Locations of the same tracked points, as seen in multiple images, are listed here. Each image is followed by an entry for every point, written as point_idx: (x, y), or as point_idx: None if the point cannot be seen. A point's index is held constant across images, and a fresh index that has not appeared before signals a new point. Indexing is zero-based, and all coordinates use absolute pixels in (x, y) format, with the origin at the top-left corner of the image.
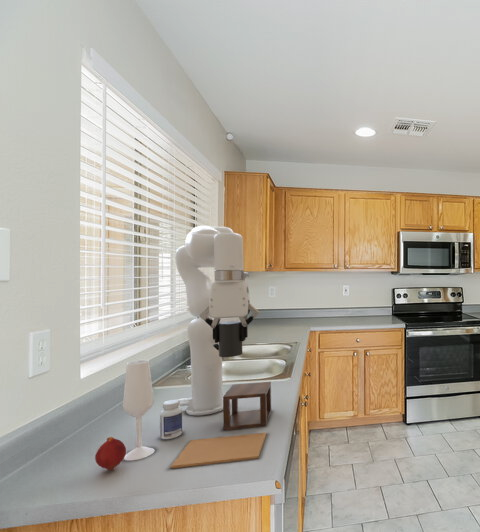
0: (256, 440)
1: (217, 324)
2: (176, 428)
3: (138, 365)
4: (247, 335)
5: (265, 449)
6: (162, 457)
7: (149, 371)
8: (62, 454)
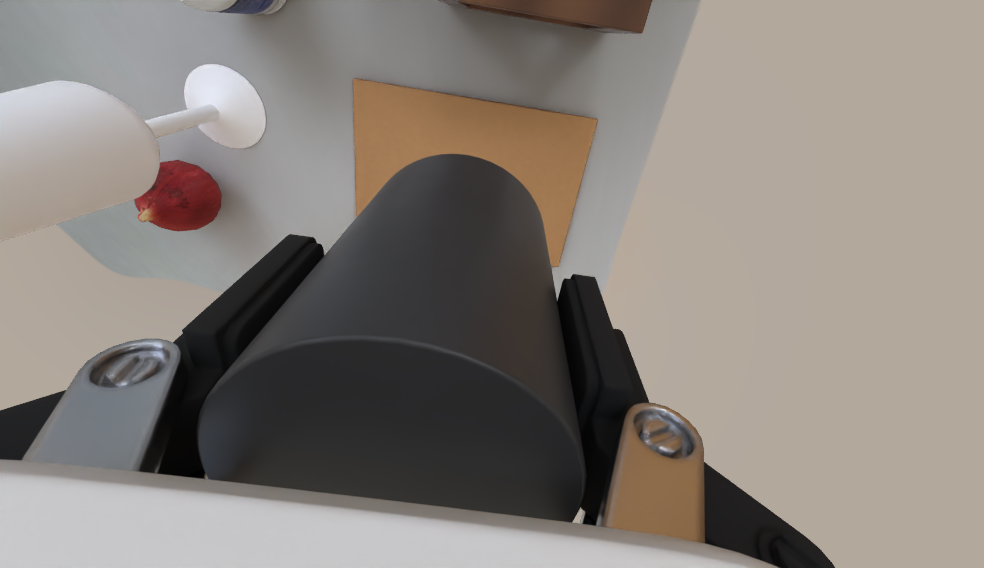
0: (560, 172)
1: (178, 420)
2: (268, 4)
3: None
4: (619, 338)
5: (579, 223)
6: (309, 160)
7: None
8: None
